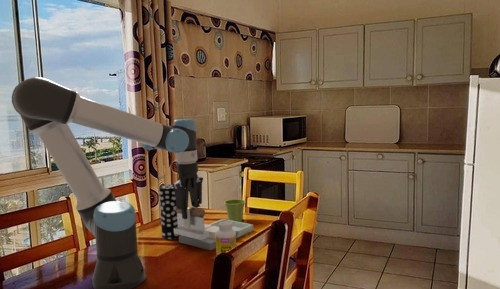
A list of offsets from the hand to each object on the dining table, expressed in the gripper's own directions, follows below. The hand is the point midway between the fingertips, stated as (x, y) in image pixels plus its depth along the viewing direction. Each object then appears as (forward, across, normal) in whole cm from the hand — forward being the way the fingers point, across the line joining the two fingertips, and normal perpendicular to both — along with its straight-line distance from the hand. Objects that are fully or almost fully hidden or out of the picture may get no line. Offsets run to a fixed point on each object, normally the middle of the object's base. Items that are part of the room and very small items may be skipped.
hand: (190, 225), depth 151 cm
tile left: (+6, +9, +4) cm, 11 cm away
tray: (+8, +22, 0) cm, 24 cm away
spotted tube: (+8, +5, +16) cm, 19 cm away
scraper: (+4, 0, 0) cm, 4 cm away
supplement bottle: (+8, -3, -19) cm, 21 cm away
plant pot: (+9, +34, +7) cm, 36 cm away
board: (+8, +9, 0) cm, 12 cm away
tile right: (+6, +9, -3) cm, 11 cm away
